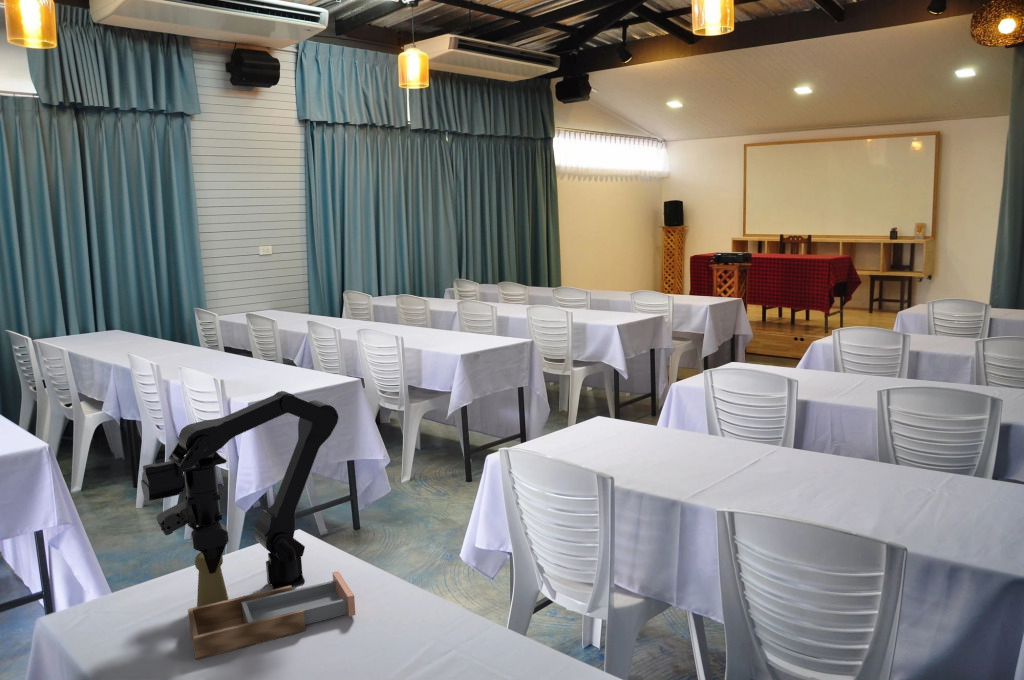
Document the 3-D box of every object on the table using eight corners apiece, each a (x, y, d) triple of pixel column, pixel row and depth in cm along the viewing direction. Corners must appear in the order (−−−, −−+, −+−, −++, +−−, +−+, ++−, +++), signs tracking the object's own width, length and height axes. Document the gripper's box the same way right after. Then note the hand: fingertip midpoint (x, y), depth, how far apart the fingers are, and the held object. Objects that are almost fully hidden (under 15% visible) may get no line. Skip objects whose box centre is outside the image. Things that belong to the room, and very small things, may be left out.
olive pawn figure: (190, 608, 155) (184, 556, 153) (212, 595, 160) (207, 544, 159) (214, 613, 152) (208, 560, 151) (235, 599, 158) (230, 548, 156)
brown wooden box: (292, 604, 155) (291, 585, 155) (305, 631, 145) (303, 611, 144) (189, 629, 147) (187, 609, 146) (195, 659, 137) (193, 638, 136)
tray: (339, 589, 160) (338, 571, 159) (355, 614, 149) (354, 595, 148) (241, 613, 151) (240, 593, 150) (251, 641, 141) (249, 620, 140)
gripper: (154, 482, 157) (162, 555, 160) (159, 512, 141) (168, 593, 143) (213, 472, 162) (220, 543, 165) (225, 500, 146) (232, 579, 148)
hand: (209, 564), depth 155 cm, fingers open, 9 cm apart
